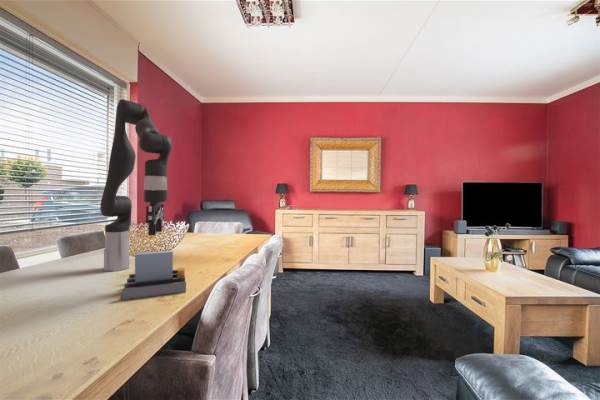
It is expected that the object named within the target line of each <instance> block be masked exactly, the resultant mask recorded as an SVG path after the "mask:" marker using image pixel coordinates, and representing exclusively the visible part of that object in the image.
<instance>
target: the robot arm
mask: <svg viewBox="0 0 600 400" xmlns="http://www.w3.org/2000/svg"><path fill="white" fill-rule="evenodd" d="M114 122H115V124H114V133H113V134H114V135H113V139H112V145H111V149H110V153H109V155H110V156H109V162H108V170H107V175H106V181H105V185H104V188H103V191H102V192H103V193H102V195H101V196H102V197H101V200H100V206H99V208H100V214H102V216H104V217H107V218H109V217H110V218H111V217H116V219H115V220H114V221H113V222H110V223H108V224H106V225H105V227H104V241H105V242H104V249H103V272H117V271H124V270H127V269H130V226H131V223H132V210H133V209H132V206H133V205H132V200H131V199H130V197H129V196H127V195H117V193H118V190H119V189H120V186H121V185H122V184H123V183H124V181H126V179H128V178H129V177H130V175H131V174H132V173H133V171H134V168H135V163H136V157H137V156H136V153H135V150H134V148H133V146H132V144H131V141H130V139H129V137H128V135H127V130H126V124H129V125H134V126H135V127H134V130H135V133H136V134H137V137H139V141H138V143H139V148H140V150H141V151H142V152H144V153H149V154H157V155H158V154H159V156H158V158H155V159H147V160H146V161H145V163H144V178H143V179H144V180H143V202H144V203H149V205H146V207H145V210H146V211H145V224H147V226H148V228H147V229H148V231H147V233H148V234H147V235H148V236H156V234H157V233H161V232H162V231H163V222H164V221H163V220H164V219H165V205H164V204H163V203H166V202H167V201H168V179H167V175H168V174H167V166H168V162H169V158H170V154H171V152H172V149H173V141H172V139H171V138H170V137H169V136H168V135H165V134H160V132H159V130H158V129H157V127H156V126H155V124H154V123H153V120H152V118H151V115H150V112H149V110H148V108H147V107H146V106H145V105H143V104H141V103H137V102H135V101H131V100H128V99H123V98H122V99H119V101H118V103H117V106H116V111H115V121H114Z"/></svg>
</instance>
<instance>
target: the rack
mask: <svg viewBox="0 0 600 400" xmlns="http://www.w3.org/2000/svg"><path fill="white" fill-rule="evenodd" d="M185 271H186V270H185V267H177V269H173V278H170V279H161V280H151V281H142V282H135V273H129V275H128V278H127V279H126V283H125V284H124V288H122V290H121V292H122V293H121V296H122V297H121V298H122V299H121V301H122V302H123V301H128V300H137V299H145V298H153V297H159V296H166V295H175V294H176V295H177V294H182V293H186V292H187V281H186V276H185V274H186V273H185Z"/></svg>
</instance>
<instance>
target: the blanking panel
mask: <svg viewBox="0 0 600 400" xmlns="http://www.w3.org/2000/svg"><path fill="white" fill-rule="evenodd" d="M173 254H174V250H165V251H164V250H163V251H162V250H160V251H148V252H147V251H146V252H135V254H134V274H135V282H142V281H151V280H161V279H170V278H173V270H174V269H173V268H174V267H173V265H174V264H173V263H174V261H173V260H174V259H173V258H174V257H173V256H174V255H173Z"/></svg>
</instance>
